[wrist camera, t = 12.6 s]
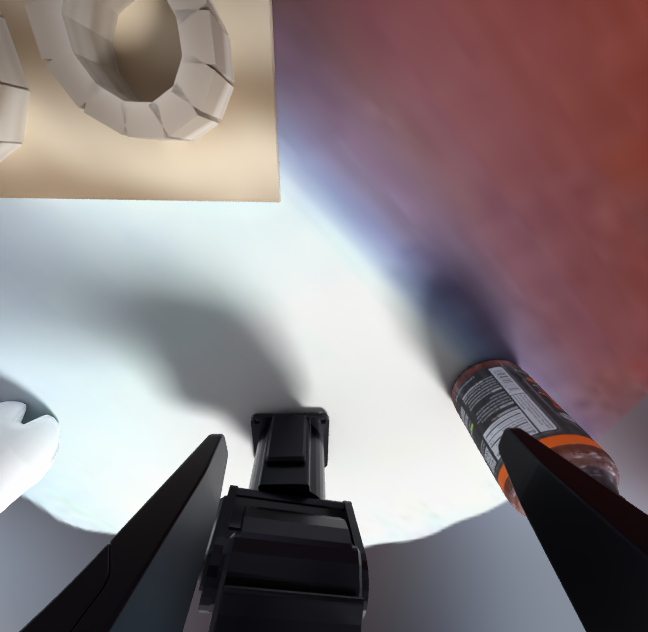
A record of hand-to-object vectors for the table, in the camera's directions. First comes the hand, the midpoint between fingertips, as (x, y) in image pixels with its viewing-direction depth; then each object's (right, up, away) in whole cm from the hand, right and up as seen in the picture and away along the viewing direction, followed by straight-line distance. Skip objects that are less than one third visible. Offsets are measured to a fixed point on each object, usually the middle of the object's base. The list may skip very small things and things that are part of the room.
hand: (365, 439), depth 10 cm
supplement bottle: (+12, -2, +15) cm, 19 cm away
